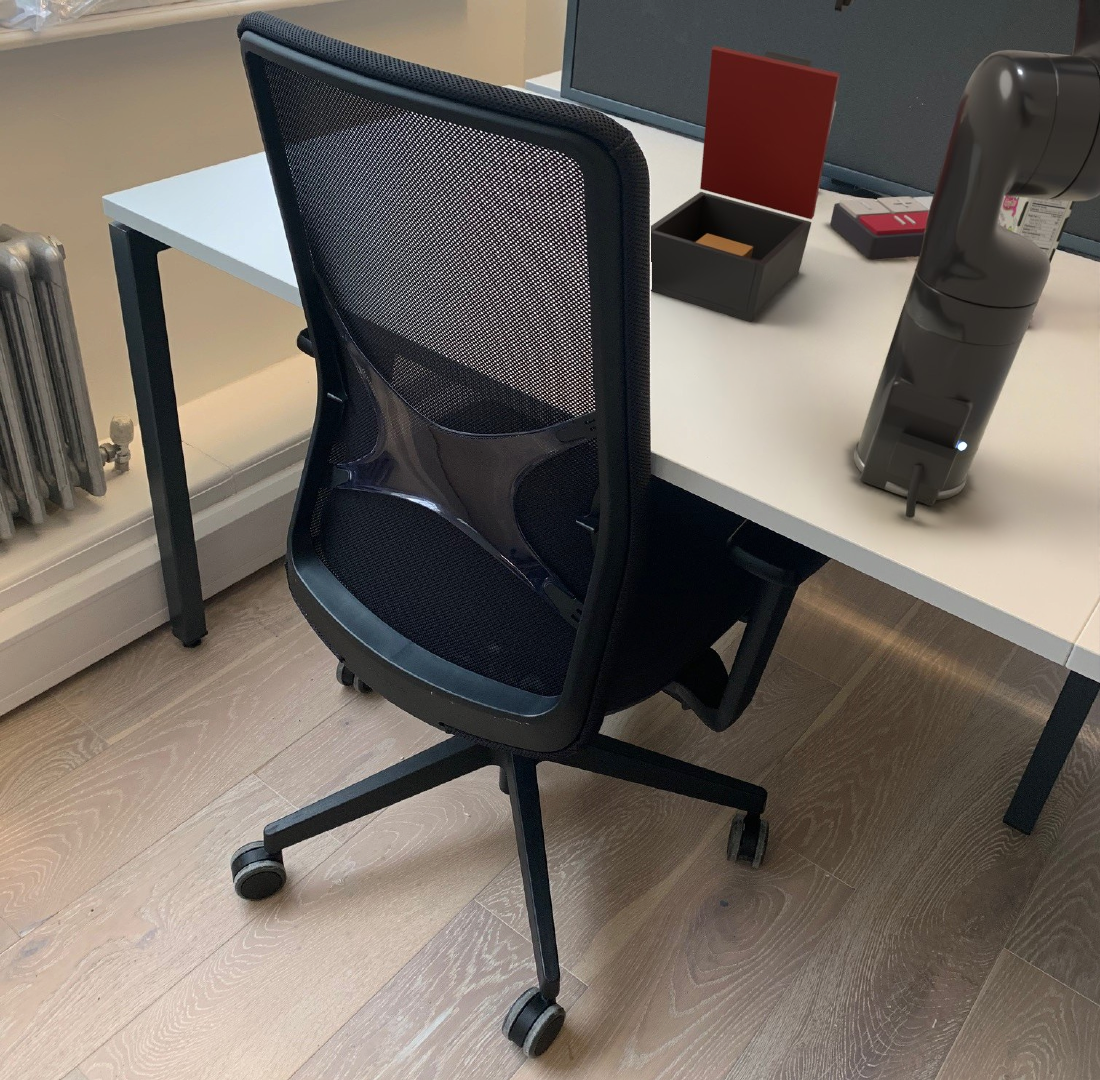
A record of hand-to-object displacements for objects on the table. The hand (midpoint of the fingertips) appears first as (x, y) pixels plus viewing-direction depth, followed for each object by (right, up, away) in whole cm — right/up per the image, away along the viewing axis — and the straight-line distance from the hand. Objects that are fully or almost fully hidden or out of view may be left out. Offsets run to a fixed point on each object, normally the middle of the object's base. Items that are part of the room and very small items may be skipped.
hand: (800, 2), depth 106 cm
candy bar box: (+26, -28, +13) cm, 40 cm away
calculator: (+19, -17, +26) cm, 36 cm away
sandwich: (-8, -26, +9) cm, 29 cm away
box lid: (-3, -11, +6) cm, 13 cm away
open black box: (-6, -26, +11) cm, 29 cm away
